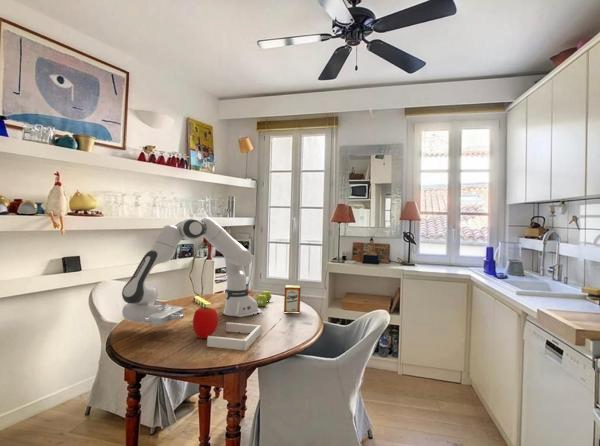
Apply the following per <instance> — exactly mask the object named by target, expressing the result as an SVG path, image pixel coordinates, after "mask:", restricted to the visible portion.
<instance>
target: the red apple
mask: <svg viewBox="0 0 600 446" xmlns="http://www.w3.org/2000/svg"><path fill="white" fill-rule="evenodd" d="M218 323H219V315H218V312H217V311H216V309H214V308H212V307H211V308H209V307H206V308H205V306H204V307H199V308H197V309H196V310H195V312H194V314H193V317H192V326H193V327H192V328H193V331H194V333H195V335H196V336H197V337H198V338H200V339H203V340H204V339H207V337H208V336H213V334H214V333H215V331H216V330H217V327H218Z"/></svg>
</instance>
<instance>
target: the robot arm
mask: <svg viewBox="0 0 600 446" xmlns="http://www.w3.org/2000/svg"><path fill="white" fill-rule="evenodd" d="M200 237H203V238H204V239H205V240H206V241H207V242H208V243H209V244H210V245H211V246H212V247H213V248H214V249H215V250H216V251H217V252H219V253H220V254H222V255H223V258H224V260H225V268H226V269H225V270H226V289H225V304H224V305H225V306H224V308H223V312H222V314H224V315H226V316H230V317H237V318H238V317H239V318H243V317H248V316H253V314H254V315H258V314H257V313H259V314H262V313H261V312H263V311H262V309H261V308H259V306H258V304H257V302H256V300H255V299H254V298H253V297H252V296H251V295H250V294H251V293H252V290H250V289H247V274H246V271H245V267H248V266H249V265H250V264H251V263H252V261H253V255H252V252H251V251H249V249H247V248H245V247H244V246H243V244H241V243H240V242H238V240H236V239H235V238H234V237H232V236H231V235H230V234H229V233H228V232H227V231H226V229H224V228H223V227H222V226H221V224H219V223H218V222H217V221H215V220H213V219H212V218H211V217H204V218H201V219H198V218H188V219H184V220H182V221H180V222H179V223H177V224H176V225H173V224H172V225H171V224H166V225H165V226H163V227H162V228H161V230H160V232H159V233H158V235H157V236H156V239H155V241H154V244H153V245H152V246H151V249H149V251H147V252H146V253H145V255H144V256H143V258H142V259H141V261H140V262H139V263H138V266H137V267H136V269H135V270H134V273H133V274H132V276H131V278H130V279H129V280H128V281H127V282H126V283H125V285H124V286H123V288H122V292H121V297H122V299H123V301H124V302H125V303H126V304H124V306H123V307H122V311H121V312H122V317H123V319H125V320H126V321H129V322H131V323H136V324H137V323H141V324H142V323H144V324H148V325H151V326H155V327H156V326H157V327H160V326H163V325H165V324H167V323H169V322H171V321H181V320H182V319H184V308H183V307H181V306H177V305H170V304H168V303H166V304H165V303H164V304H156V302H157V298H158V290H157V289H156V288H155V287H154V286H152V285H149V284H145V282H146V281H147V279H148V277H149V275H150V273H151V272H152V269H153V268H154V267H155V266H156V265H160V264H164V263H167V262H169V261H172V259H173V257H174V255H175V253H176V251H177V249H178V245H179V244H180V242H181V241H189V240H190V241H191V240H194V239H198V238H200Z"/></svg>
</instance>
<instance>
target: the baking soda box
mask: <svg viewBox="0 0 600 446" xmlns="http://www.w3.org/2000/svg"><path fill="white" fill-rule="evenodd" d="M283 298H284V299H283V300H284V302H283V303H284V304H283V305H284V306H283V313H284V312H301V285H294V284H291V285H289V284H285V285H284V297H283Z"/></svg>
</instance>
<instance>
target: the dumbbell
mask: <svg viewBox="0 0 600 446" xmlns="http://www.w3.org/2000/svg"><path fill="white" fill-rule="evenodd" d="M271 299H272V294H271V292H270V291H267V290H265V291H262V292H261V294H258V295H257V296H256V298H255V299H254V300H256V302H257V304H258V307H259V306H264V307H265V305H266V304H267V303H268V302H267V301H269V302H270V300H271Z"/></svg>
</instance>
